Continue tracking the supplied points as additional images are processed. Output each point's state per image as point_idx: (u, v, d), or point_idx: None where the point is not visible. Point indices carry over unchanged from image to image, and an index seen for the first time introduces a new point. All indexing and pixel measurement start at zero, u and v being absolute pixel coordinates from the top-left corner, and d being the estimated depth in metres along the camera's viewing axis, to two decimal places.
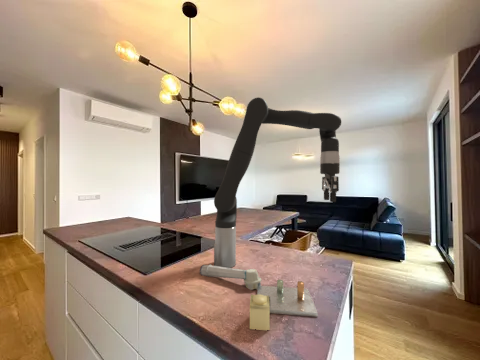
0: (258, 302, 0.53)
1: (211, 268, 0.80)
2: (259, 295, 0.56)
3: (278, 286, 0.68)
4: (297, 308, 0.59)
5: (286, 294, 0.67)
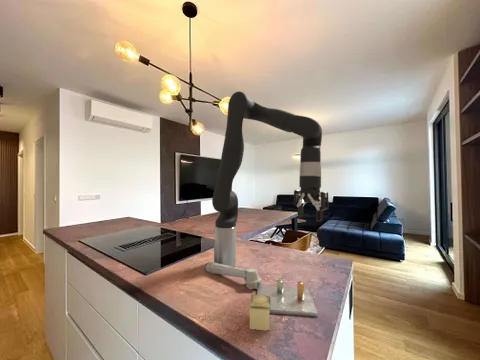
0: (258, 302, 0.53)
1: (215, 265, 0.83)
2: (259, 295, 0.56)
3: (278, 286, 0.68)
4: (297, 308, 0.59)
5: (286, 294, 0.67)
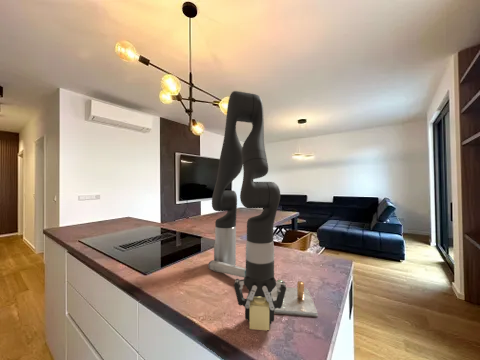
0: (258, 302, 0.53)
1: (217, 264, 0.84)
2: None
3: None
4: (297, 308, 0.59)
5: (286, 294, 0.67)
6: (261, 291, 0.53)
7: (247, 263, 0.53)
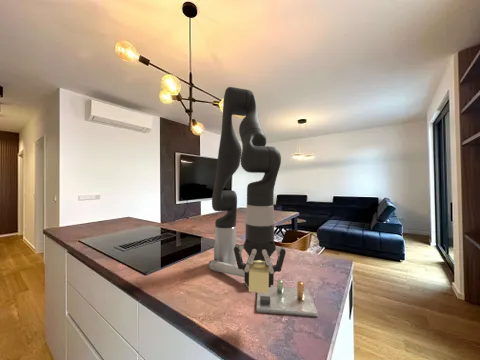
0: (257, 266, 0.53)
1: (217, 263, 0.84)
2: (258, 260, 0.56)
3: (278, 286, 0.68)
4: (297, 308, 0.59)
5: (286, 294, 0.67)
6: (261, 255, 0.54)
7: (247, 227, 0.53)
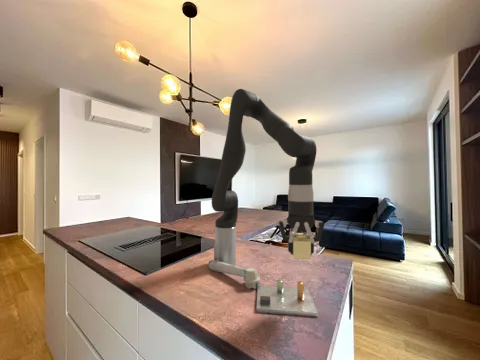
0: (300, 236, 0.62)
1: (217, 263, 0.84)
2: (299, 233, 0.65)
3: (278, 286, 0.68)
4: (297, 308, 0.59)
5: (286, 294, 0.67)
6: (302, 227, 0.63)
7: (291, 203, 0.63)
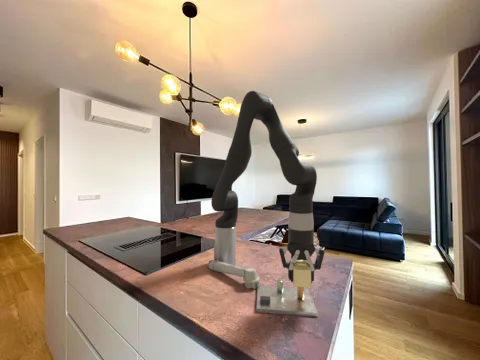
0: (300, 264, 0.62)
1: (217, 263, 0.85)
2: (299, 260, 0.65)
3: (278, 286, 0.68)
4: (297, 308, 0.59)
5: (286, 294, 0.67)
6: (303, 255, 0.63)
7: (291, 231, 0.63)
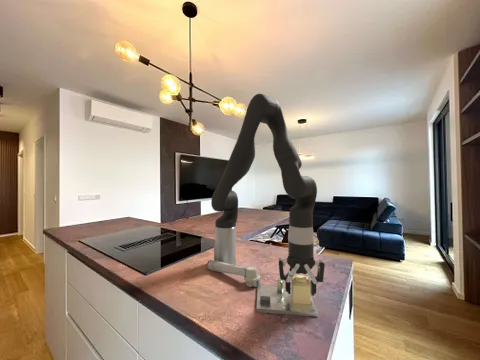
0: (300, 280, 0.62)
1: (216, 263, 0.84)
2: (299, 275, 0.65)
3: (278, 286, 0.68)
4: (297, 308, 0.59)
5: (286, 294, 0.67)
6: (302, 269, 0.63)
7: (291, 245, 0.63)
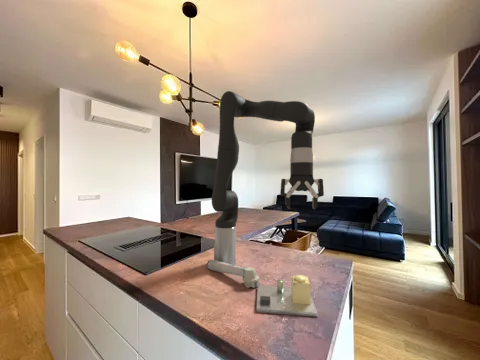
0: (300, 280, 0.62)
1: (216, 263, 0.85)
2: (299, 275, 0.65)
3: (278, 286, 0.68)
4: (297, 308, 0.59)
5: (286, 294, 0.67)
6: (303, 186, 0.70)
7: (293, 164, 0.70)
